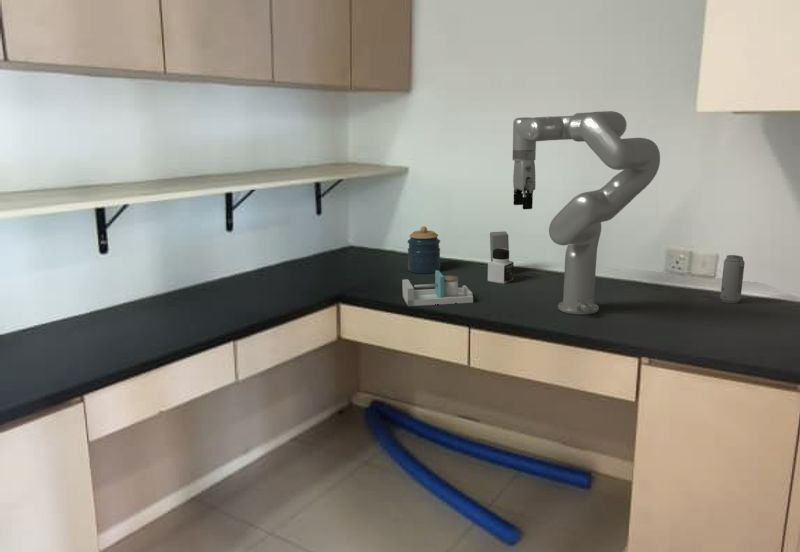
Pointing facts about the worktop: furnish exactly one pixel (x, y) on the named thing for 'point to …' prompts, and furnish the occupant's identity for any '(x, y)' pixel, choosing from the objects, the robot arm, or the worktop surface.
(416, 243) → the canister
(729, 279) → the energy drink can
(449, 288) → the jar
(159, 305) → the worktop surface
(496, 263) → the medicine bottle
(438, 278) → the pusher
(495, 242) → the skincare box
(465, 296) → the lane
